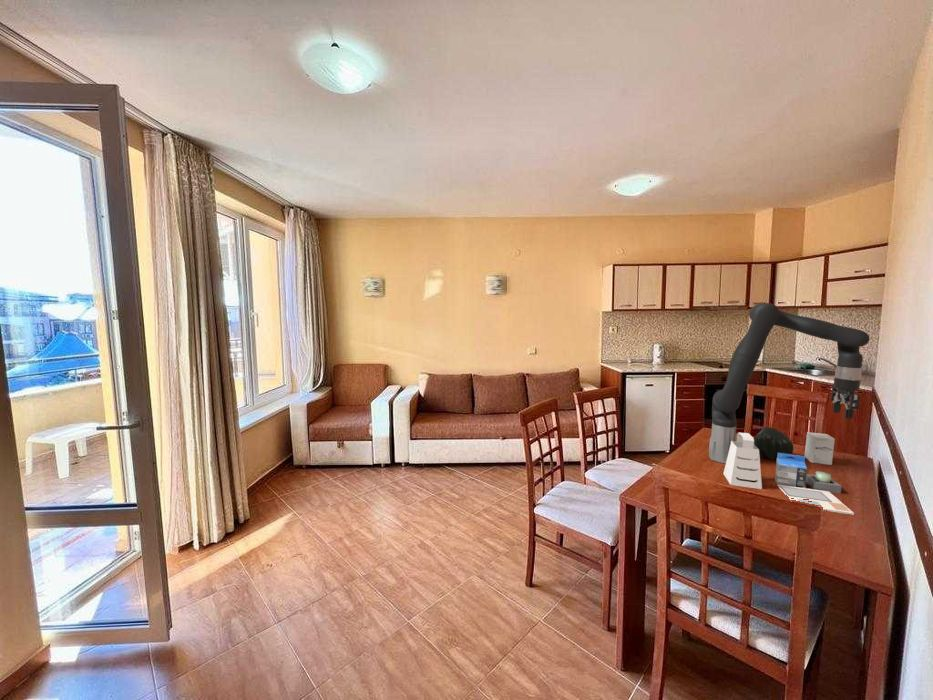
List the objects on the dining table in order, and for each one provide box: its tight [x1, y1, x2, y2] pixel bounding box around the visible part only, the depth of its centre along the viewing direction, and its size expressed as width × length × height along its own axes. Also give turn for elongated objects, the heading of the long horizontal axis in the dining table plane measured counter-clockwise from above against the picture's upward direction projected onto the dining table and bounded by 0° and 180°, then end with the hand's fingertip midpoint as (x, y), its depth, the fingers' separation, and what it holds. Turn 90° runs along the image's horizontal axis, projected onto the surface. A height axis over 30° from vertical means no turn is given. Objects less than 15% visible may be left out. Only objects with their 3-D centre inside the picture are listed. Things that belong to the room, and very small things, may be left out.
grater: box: [723, 432, 763, 490], centre depth 150 cm, size 10×10×20 cm
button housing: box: [806, 473, 842, 494], centre depth 145 cm, size 8×8×3 cm
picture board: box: [777, 484, 855, 516], centre depth 136 cm, size 16×16×1 cm
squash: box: [753, 426, 794, 460], centre depth 174 cm, size 14×15×15 cm
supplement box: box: [804, 431, 836, 466], centre depth 168 cm, size 7×7×13 cm
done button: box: [814, 470, 832, 483], centre depth 145 cm, size 4×4×4 cm
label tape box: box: [774, 453, 808, 488], centre depth 147 cm, size 9×4×12 cm, turn 61°
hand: (842, 415), depth 152 cm, fingers open, 8 cm apart
